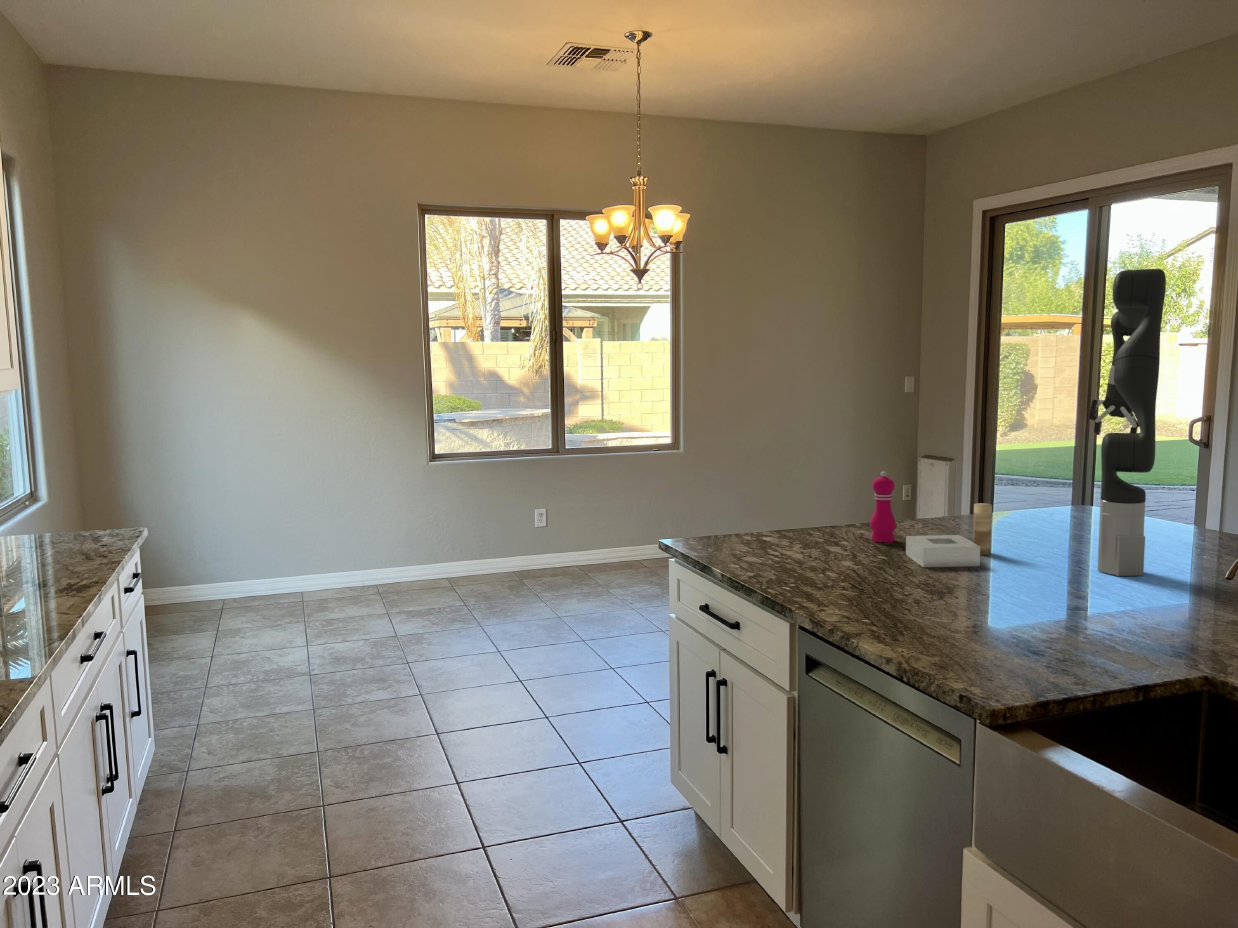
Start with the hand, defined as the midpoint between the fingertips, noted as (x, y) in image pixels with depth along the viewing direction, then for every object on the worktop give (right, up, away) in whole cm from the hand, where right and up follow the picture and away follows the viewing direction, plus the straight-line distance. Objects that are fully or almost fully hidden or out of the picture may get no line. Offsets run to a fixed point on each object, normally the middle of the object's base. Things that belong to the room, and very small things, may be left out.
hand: (1114, 437), depth 248 cm
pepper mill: (-67, -30, -1) cm, 74 cm away
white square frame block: (-60, -33, -26) cm, 73 cm away
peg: (-47, -31, -20) cm, 60 cm away
